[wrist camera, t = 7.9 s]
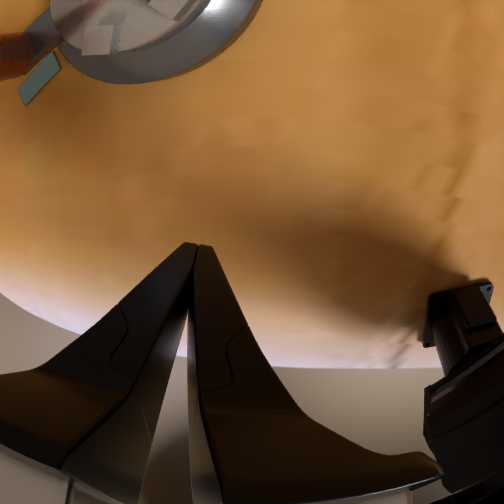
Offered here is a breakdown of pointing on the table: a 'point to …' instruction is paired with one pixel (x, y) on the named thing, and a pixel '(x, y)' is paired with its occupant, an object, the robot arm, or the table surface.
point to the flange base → (155, 51)
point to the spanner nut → (96, 29)
